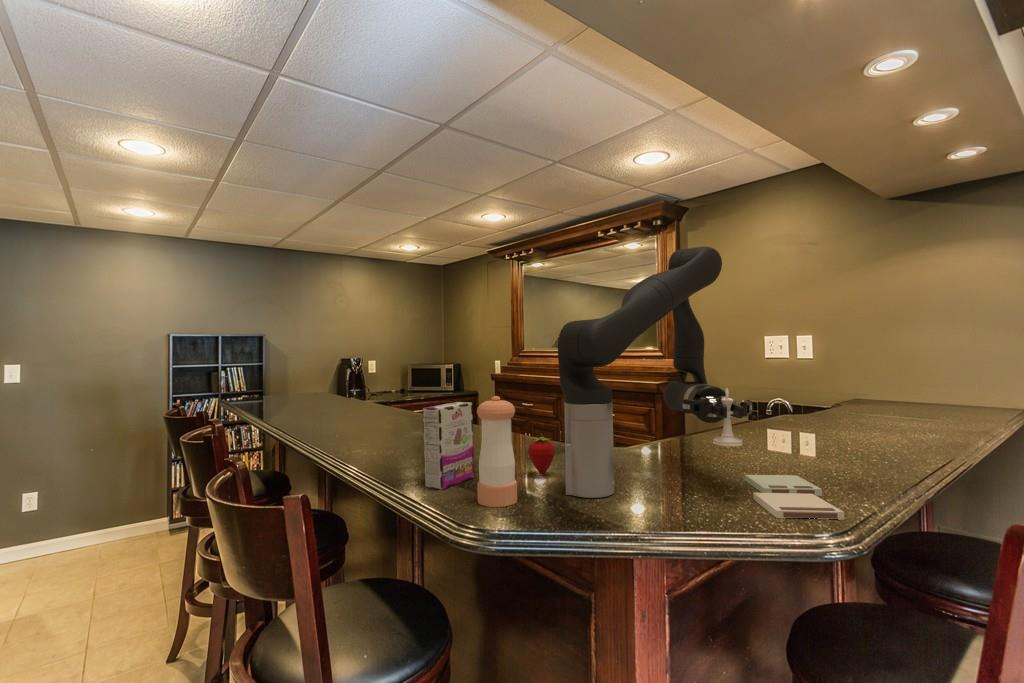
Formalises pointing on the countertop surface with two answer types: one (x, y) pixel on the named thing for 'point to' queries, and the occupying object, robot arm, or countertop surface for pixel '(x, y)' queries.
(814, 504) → the tile one
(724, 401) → the chess piece
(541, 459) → the strawberry
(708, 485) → the countertop surface
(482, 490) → the pepper shaker
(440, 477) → the candy bar box
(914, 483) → the countertop surface
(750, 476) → the tile two
